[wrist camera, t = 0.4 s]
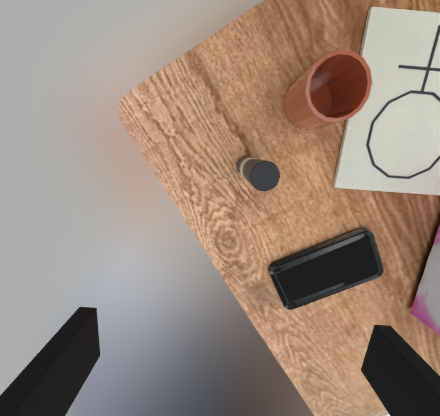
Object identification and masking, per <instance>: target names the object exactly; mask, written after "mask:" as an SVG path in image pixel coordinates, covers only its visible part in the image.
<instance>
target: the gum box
mask: <svg viewBox="0 0 440 416" xmlns="http://www.w3.org/2000/svg"><path fill="white" fill-rule="evenodd" d="M410 313H411V314H413V315H414V316H415V317H416V318H418V319H419V320H420V321H422V322H423V323H424V324H426V325H427V326H428V327H430V328H431V329H432V330H433V331H435V332H436V333H437V334H439V335H440V225H439V227H438V230H437V233H436V237H435V241H434V244H433V247H432V249H431V252H430V254H429V257H428V260H427V263H426V267H425V270H424V273H423V276H422V279H421V281H420V284H419V287H418V290H417V293H416V297H415V300H414V303H413V306H412V309H411V312H410Z"/></svg>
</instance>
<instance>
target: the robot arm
mask: <svg viewBox="0 0 440 416" xmlns="http://www.w3.org/2000/svg"><path fill="white" fill-rule="evenodd" d="M99 356H100V347H99V335H98V322H97V309H96V308H88V307H79V309H77V311H76V312H75V313H74V314H73V315H72V316H71V317H70V318H69V319H68V321H67V322H66V323H65V324H64V325H63V326H62V327H61V329H60V330H59V331H58V332H57V333H56V334H55V335H54V336H53V337H52V339H51V340H50V341H49V342H48V343H47V344H46V345H45V347H44V348H43V349H42V350H41V351H40V352H39V353H38V354H37V355H36V356H35V358H34V359H33V360H32V361H31V362H30V363H29V364H28V365H27V366H26V368H25V369H24V370H23V371H22V372H21V373H20V374H19V375H18V377H17V378H16V379H15V380H14V381H13V382H12V383H11V384H10V385H9V387H8V388H7V389H6V390H5V391H4V392H3V393H2V394H1V396H0V416H65V415H66V413H67V411H68V410H69V408H70V406H71V404H72V403H73V401H74V399H75V398H76V396H77V394H78V393H79V391H80V389H81V387H82V386H83V384H84V382H85V380H86V379H87V377H88V375H89V374H90V372H91V370H92V368H93V367H94V365H95V363H96V362H97V360H98V358H99ZM361 371H362V373H363V374H364V376H365V377H366V379H367V380H368V382H369V383H370V385H371V386H372V388H373V390H374V391H375V393H376V394H377V396H378V397H379V399H380V400H381V402H382V403H383V405H384V407H385V408H386V410H387V411H388V413H389V414H390V416H440V376H439V375H438V374H437V373H436V372H435V371H434V370H433V369H432V368H431V367H430V366H429V365H428V364H427V363H426V362H425V361H424V360H423V359H422V358H421V357H420V356H419V355H418V354H417V353H416V352H415V351H414V350H413V349H412V348H411V347H410V346H409V344H408V343H407V342H406V341H405V340H404V339H403V338H402V337H401V336H400V335H399V334H398V333H397V332H396V331H395V330H394V329H393V328H392V327H391V326H384V325H374V328H373V332H372V335H371V338H370V342H369V345H368V348H367V351H366V355H365V358H364V361H363V365H362V368H361Z"/></svg>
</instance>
